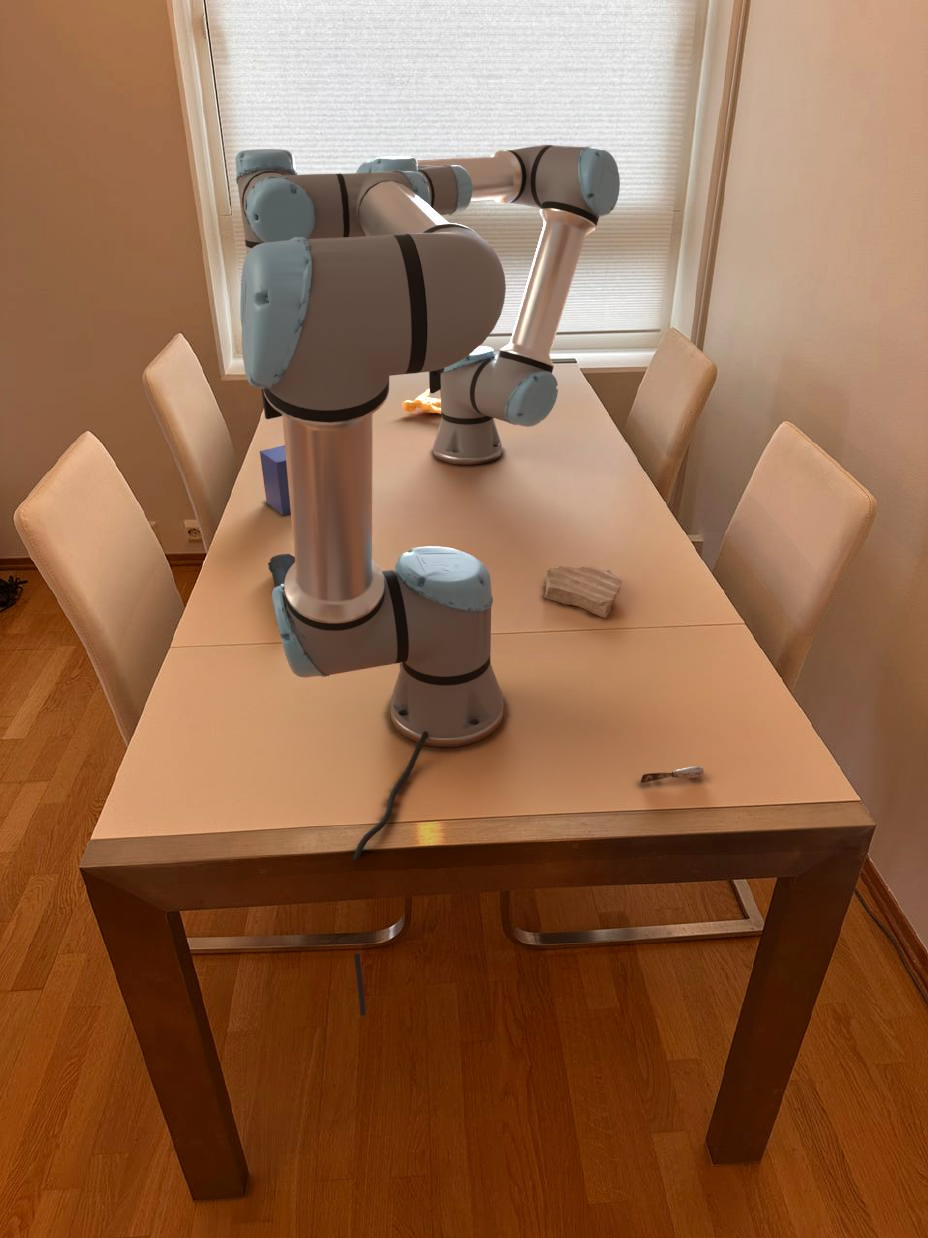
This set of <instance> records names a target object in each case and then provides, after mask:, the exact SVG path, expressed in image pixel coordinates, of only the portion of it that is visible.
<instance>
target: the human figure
mask: <svg viewBox="0 0 928 1238" xmlns="http://www.w3.org/2000/svg"><path fill="white" fill-rule="evenodd" d="M424 391H425V392H423V393H422V394H420V395H418V396H416V398H415V399H414V400H404V401H403V402H402V411H404V412H405V413H410V414H412V413H414V412H417V408H418V409H420V410H421V411H423V412H424V413H427V414H439V415H441V398H434V397H429V396H430V395H432V394H433V393H430V387H429V386H428V389H424Z"/></svg>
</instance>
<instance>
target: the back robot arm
mask: <svg viewBox="0 0 928 1238" xmlns="http://www.w3.org/2000/svg"><path fill="white" fill-rule="evenodd" d="M392 170H400V171H407V172H419V173H421V174H422V175H423V176H424V177H425V179H426V181H427V186H428V187H429V192H430V199H431V208H432V209H433V210H434V211H435V212H437V213H438V214H439V215H440V216H441V217H442V216H453V215H454V214H458V213H461V212H464V211H465V210H466V209H467V208H469V206H470V204H471V202H477V201H488V200H489V201H490V200H493V201H494V202H495V203H498V204H502V205H506V204H516V205H522V206H527V207H531V208H536V209H540V210H539V214H540V217H541V218H542V221H543V227H542V231H541V233H540V236H539V240H538V244H537V248H536V251H535V255H534V257H533V261H532V265H531V268H530V272H529V275H528V278H527V282H526V285H525V289H524V293H523V296H522V300H521V302H520V306H519V310H518V312H517V317H516V320H515V323H514V326H513V330H512V334H511V337H510V339H509V343H508V344H507V345H505V346H503V347H502V348H500V349H499V352H498V355H497V359H496V353H495V350H494V348H493V347H491V346H486V345H485V346H483V345H480V346H479V347H478V348H477V349H476V350H474V351H473V352H472V353H471V354H470V355H468V356H467V357H466V358H464V359H462V360H460V361H459V362H457V363H455V364H453V365H451V366H449V367H446V368H442V369H439V370H436V371H430V372H428V382H429V383H428V384H429V386H428V388H429V387H430V393H432V394H435V393H437V392H440V399H441V414H440V416H441V417H440V422H439V426H438V429H437V431H436V436H435V439H434V442H433V455H434V456H435V458H436V459H438V460H440V461H442V462H445V463H448V464H453V465H459V466H461V465H462V466H473V465H481V464H487V463H490V462H493V461H495V460H497V459H498V458H499V457H500V456H501V455H502V441H501V438H500V435H499V432H498V428H497V426H496V422H495V419H496V420H499V421H503V422H506V423H508V424H511V425H513V426H521V427H527V428H529V427H535V426H537V425H538V424H540V423H541V422H542V421H544V420H545V419H546V418H547V417H548V416H549V415H550V413H551V412H552V410H553V408H554V407H555V404H556V401H557V399H558V393H559V388H558V385H559V384H558V380H557V378H556V377H555V375H554V374H553V370H554V367H555V365H554V363H553V361H552V359H551V353H552V350H553V345H554V342H555V338H556V335H557V332H558V329H559V325H560V321H561V319H562V315H563V312H564V309H565V306H566V303H567V299H568V295H569V293H570V289H571V287H572V282H573V279H574V276H575V272H576V269H577V266H578V263H579V260H580V256H581V252H582V250H583V246H584V242H585V239H586V237H587V235H589V234H591V233H592V232H594V231H596V230H597V226H598V223H599V219H600V218H603V217H606V216H608V215H610V214H611V212H612V211H613V210H614V209H615V207H616V205H617V203H618V200H619V197H620V187H621V179H620V178H621V177H620V173H619V168H618V164H617V161H616V159H615V158H614V156H613V155H612V154H611V153H610V152H609V151H607V150H606V149H604V148H597V147H592V146H590V145H587V146H572V145H559V144H558V145H557V144H556V145H555V144H539V145H531V146H525V147H519V148H512V149H503V150H502V149H501V150H498V151H496V152H494V153H493V154H492V155H491V156H476V157H455V158H434V159H433V158H432V159H416V158H415V157H414V156H410V155H409V156H408V155H389V156H388V155H386V156H378V157H376V158H374V159H373V160H367V161H364V162H363V163H362V164H361V165H359V166H358V168H357V169H356V172H355V173H371V172H390V171H392Z"/></svg>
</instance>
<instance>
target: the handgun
mask: <svg viewBox="0 0 928 1238" xmlns="http://www.w3.org/2000/svg"><path fill="white" fill-rule="evenodd" d="M294 563H295V555H292V554H290V553H284V554H281V553H280V554H277V555H273V556H272V557H271V558H270V559H269V561H268V562H267V565H268V570H269V572H270V573H271V575H272V581H273V585H274V588H275V587H277V586H280V585H281V584H284V582H285V578H286V574H287V572H288V570H289V569H290V567H291V566H292V565H293V564H294Z"/></svg>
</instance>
